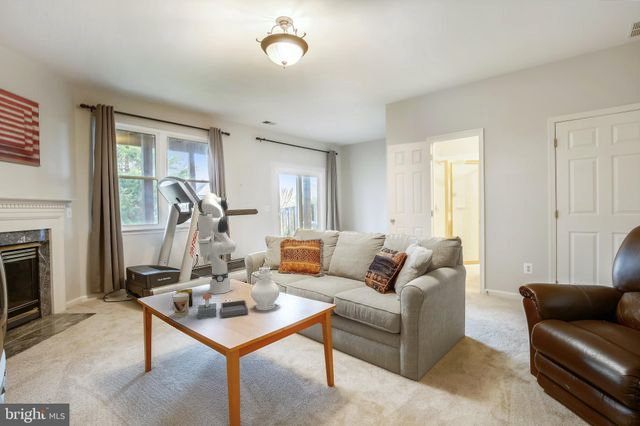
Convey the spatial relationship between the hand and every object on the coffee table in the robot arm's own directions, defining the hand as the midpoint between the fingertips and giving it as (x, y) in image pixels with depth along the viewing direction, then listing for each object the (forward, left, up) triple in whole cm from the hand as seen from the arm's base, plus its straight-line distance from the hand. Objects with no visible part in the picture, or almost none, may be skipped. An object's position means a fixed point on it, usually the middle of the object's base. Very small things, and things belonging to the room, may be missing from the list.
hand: (207, 262), depth 185 cm
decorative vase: (+1, +34, -32) cm, 47 cm away
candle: (-22, -16, -32) cm, 41 cm away
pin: (+2, -1, -31) cm, 31 cm away
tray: (+2, +15, -31) cm, 35 cm away
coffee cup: (-5, -16, -32) cm, 36 cm away
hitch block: (+2, -1, -31) cm, 31 cm away
